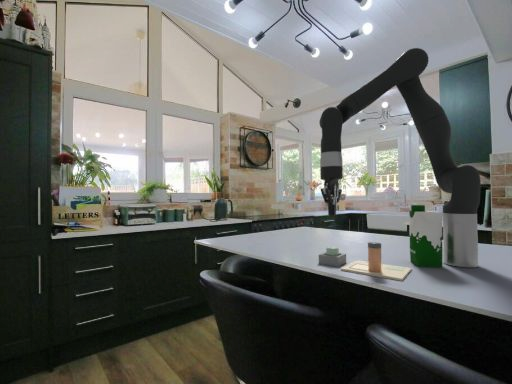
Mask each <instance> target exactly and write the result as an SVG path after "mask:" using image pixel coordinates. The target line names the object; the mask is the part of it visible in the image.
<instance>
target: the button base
mask: <svg viewBox="0 0 512 384" xmlns="http://www.w3.org/2000/svg"><path fill="white" fill-rule="evenodd" d="M346 263H347V253H344V252H342V253H341V252H339V256H330V255H326V251H325V252H322V253H319V254H318V264H321V265H327V266H335V267H340V266H342V265H344V264H346Z"/></svg>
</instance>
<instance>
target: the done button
mask: <svg viewBox="0 0 512 384" xmlns="http://www.w3.org/2000/svg"><path fill="white" fill-rule="evenodd" d="M325 252H326V255H330V256H339V253H340V249H339V247H337V246H336V247H335V246H328V247H327V246H326V248H325Z"/></svg>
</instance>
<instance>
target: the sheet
mask: <svg viewBox="0 0 512 384" xmlns="http://www.w3.org/2000/svg"><path fill="white" fill-rule="evenodd" d="M381 269H382V271H381V272H371V271H369V270H368V261H365V260H364V261H363V260H359V259H358V260H354V261H353V262H351V263H348V264H347V265H344V266H343V267H341V268H340V271H342V272H348V273H349V272H350V273H355V274H360V275H365V276H372V277H378V278H382V279H383V278H384V279H388V280H393V281H394V280H395V281H401V282H403V280H405V278H407V276H408V275H409V274H410V273H411V271H413V270H412V269H413V268H411V267H407V266H401V265H400V266H398V265H394V264H384V263H381ZM409 272H410V273H409ZM408 273H409V274H408Z"/></svg>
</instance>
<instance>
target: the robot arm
mask: <svg viewBox="0 0 512 384" xmlns="http://www.w3.org/2000/svg"><path fill="white" fill-rule="evenodd" d="M428 64H429V55H428V52H426V50H424V49H423V48H419V47H417V48H416V47H413V48H409V49H407V50H405V51H404V52H403V53H401V55H400V56H399V57H398V58H397V59H396V60H395V61H394V62H393V63H391V65H390V66H388V67H387V68H386V69H384V70H383V71H382V72H380V73H379V74H377V76H375V77H373V78H372V79H370V80H369V81H368V82H366V83H364V84H363V85H361V86H360V87H359V88H357V89H356V90H354V91H353V92H351V93H350V94H347V96H345V97H344V98H343V99H342V100H341V101H340V103H338V104H337V105H336V106H329V107H326V108H325V109H324V110H323V111H322V113H321V115H320V119H319V126H320V128H321V139H320V159H319V164H320V166H319V167H320V169H319V171H320V180H322V181H324V182H323V188H320V192H321V196H322V198H323V202H324V203H325V204H326V205H328V206H327V208H328V209H327V210H328V211H327V213H328V216H331V217H334V216H336V215H337V204H338V203H339V202H340V199H341V196H342V191H343V189H342V188H340V184H339V180H343V178H344V173H343V172H344V171H343V155H342V154H343V153H342V131H343V124H345V123H346V122H347V121H348V120H349V119H351V118H352V117H354V116H356V115H357V114H359V113H360V112H362V111H364V110H365V109H366V108H367V107H369V106H371V105H372V104H373V103H374V102H376V101H377V100H378V99H379V98H381V97H383V96H384V95H385V94H386V93H387V92H388V91H390V90H392V89H393V88H394V87H396V89H397V90H398V92H399V93H400V95H401V97H402V98H403V101H404V103H405V105H406V107H407V110H408V112H409V114H410V116H411V119H412V121H413V125H414V126H415V129H416V131H417V133H418V135H419V137H420V140H421V141H422V144H423V147H424V149H425V151H426V154H427V157H428V159H429V161H430V165H431V168H432V171H433V175H434V179H435V181H436V182H435V183H436V184H437V186H438V187H439V189H440V190H442V192H444V193H445V194H451V196H450V199H449V200H448V201H447V202H446V203H444V204H443V205H442V212H443V216H442V248H443V263H444V264H446V265H449V266H453V267H459V268H478V267H479V242H478V241H479V238H478V233H479V232H478V209H479V206H480V203H481V185H482V184H481V183H482V182H481V176H480V172H479V171H478V169H477V168H476V167H474V166H472V165H469V164H463V165H462V164H461V165H456V164H455V162H454V159H453V157H452V154H451V152H450V151H451V150H450V148H451V147H450V143H451V136H452V135H451V134H452V127H451V123H450V121H449V119H448V116H447V114H446V111H445V110H444V108H443V106H441V104H440V103H439V102H437V100H435V99H434V98H433V97H432V96H431V95H429V94H428V92H427V91H426V90H425V88H424V86H423V83H422V81H421V79H420V76H421V75H422V74H423V73H424V71H425V70H427V69H426V68H427V67H428Z"/></svg>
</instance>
